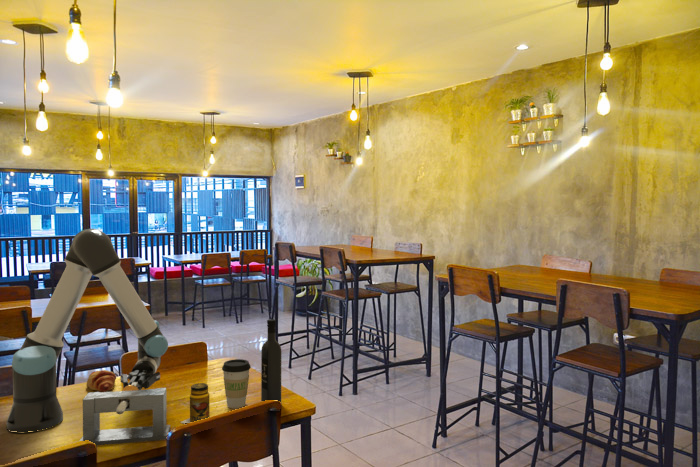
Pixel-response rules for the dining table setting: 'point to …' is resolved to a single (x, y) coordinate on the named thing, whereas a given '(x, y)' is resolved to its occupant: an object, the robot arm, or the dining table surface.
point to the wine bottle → (271, 366)
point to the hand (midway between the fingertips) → (131, 393)
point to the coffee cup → (236, 382)
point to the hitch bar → (138, 401)
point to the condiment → (198, 403)
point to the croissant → (101, 380)
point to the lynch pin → (125, 400)
